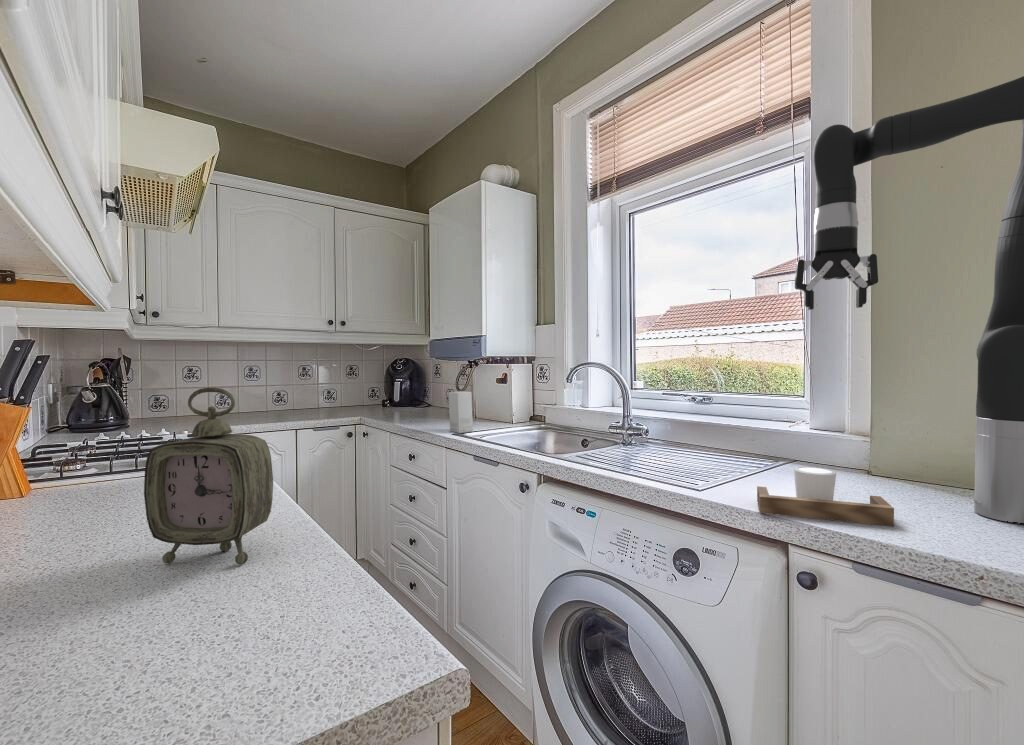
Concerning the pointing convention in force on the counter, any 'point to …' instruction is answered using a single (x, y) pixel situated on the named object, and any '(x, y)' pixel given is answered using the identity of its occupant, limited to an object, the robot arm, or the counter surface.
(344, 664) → the counter surface
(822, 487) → the white cup
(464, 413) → the skincare box
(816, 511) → the stop rail
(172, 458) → the tabletop clock
